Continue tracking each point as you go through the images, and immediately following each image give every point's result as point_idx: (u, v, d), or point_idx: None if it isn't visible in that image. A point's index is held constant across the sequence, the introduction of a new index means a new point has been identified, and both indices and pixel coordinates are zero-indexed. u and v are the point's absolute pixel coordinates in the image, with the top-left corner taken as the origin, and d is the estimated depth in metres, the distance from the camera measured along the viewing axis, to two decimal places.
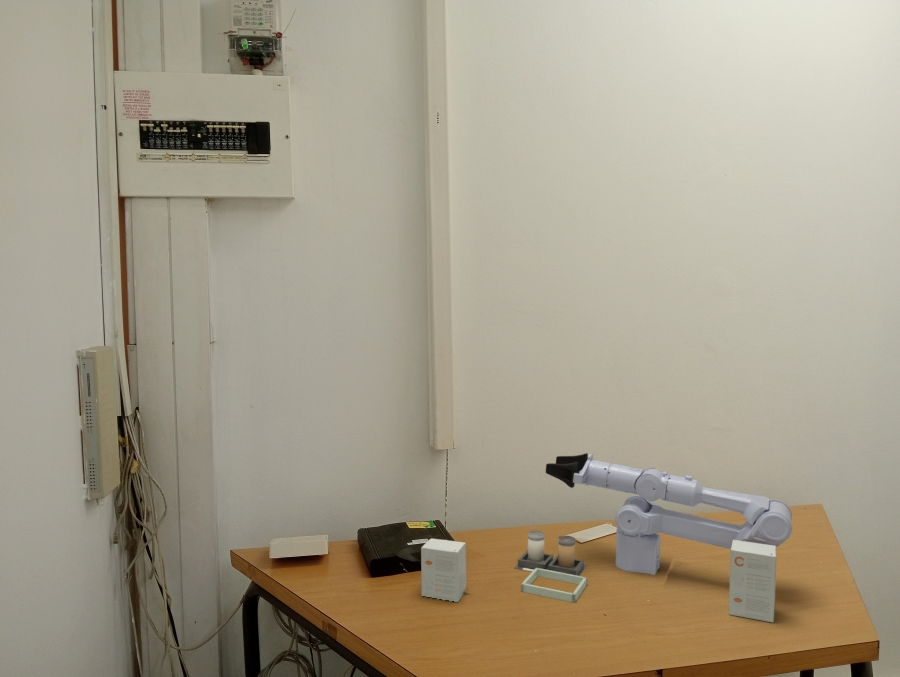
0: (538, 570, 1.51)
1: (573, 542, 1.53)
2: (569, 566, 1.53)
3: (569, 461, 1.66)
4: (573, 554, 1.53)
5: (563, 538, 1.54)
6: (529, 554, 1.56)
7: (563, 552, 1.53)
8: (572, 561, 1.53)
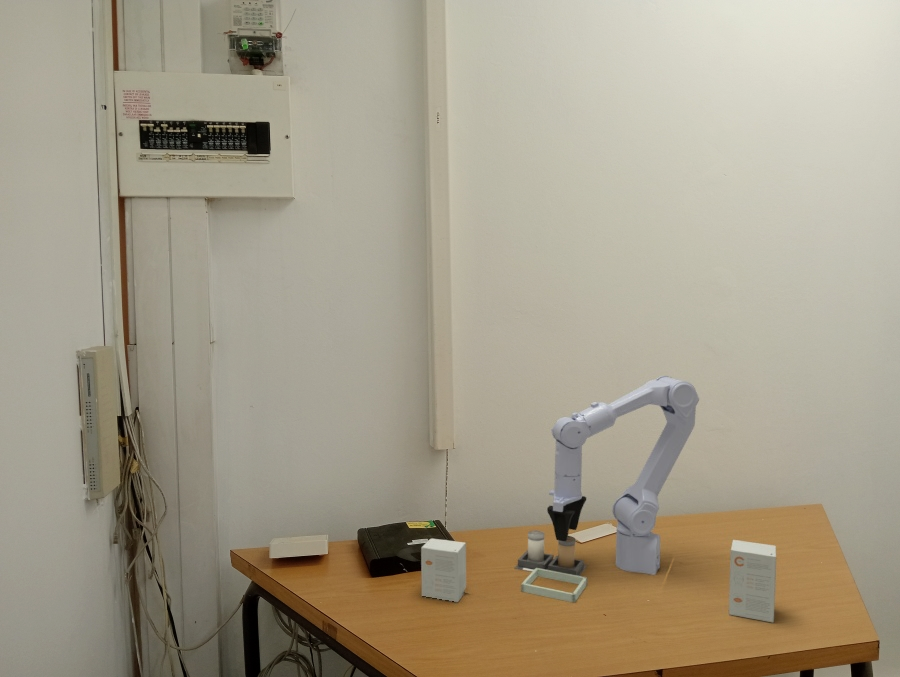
0: (538, 570, 1.51)
1: (573, 542, 1.53)
2: (569, 566, 1.53)
3: None
4: (573, 554, 1.53)
5: None
6: (529, 554, 1.56)
7: (563, 552, 1.53)
8: (572, 561, 1.53)
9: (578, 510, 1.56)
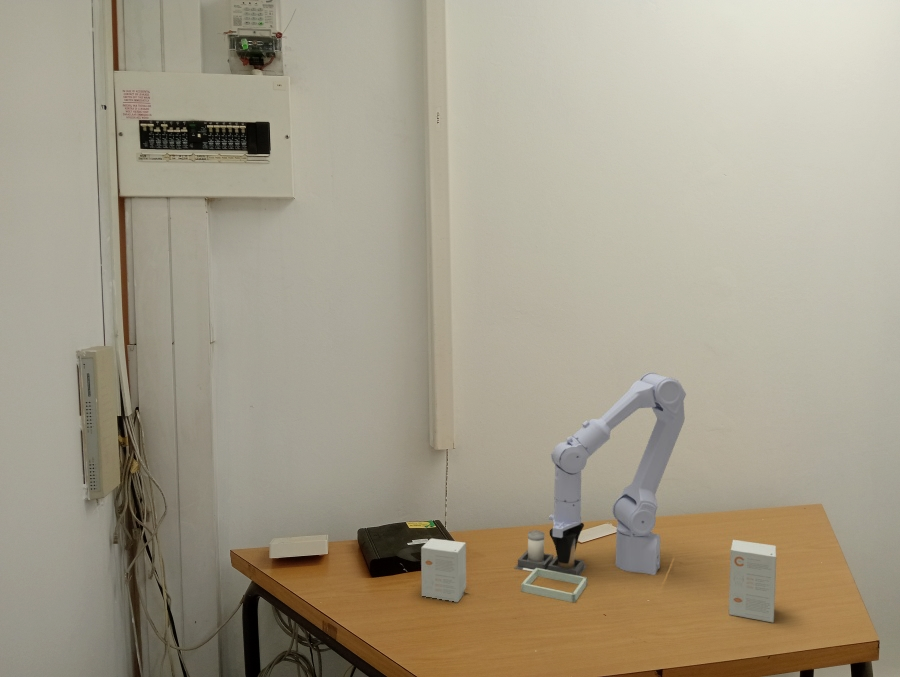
0: (538, 570, 1.51)
1: (573, 542, 1.53)
2: (569, 566, 1.53)
3: None
4: (573, 554, 1.53)
5: None
6: (529, 554, 1.56)
7: None
8: (572, 561, 1.53)
9: (576, 537, 1.55)
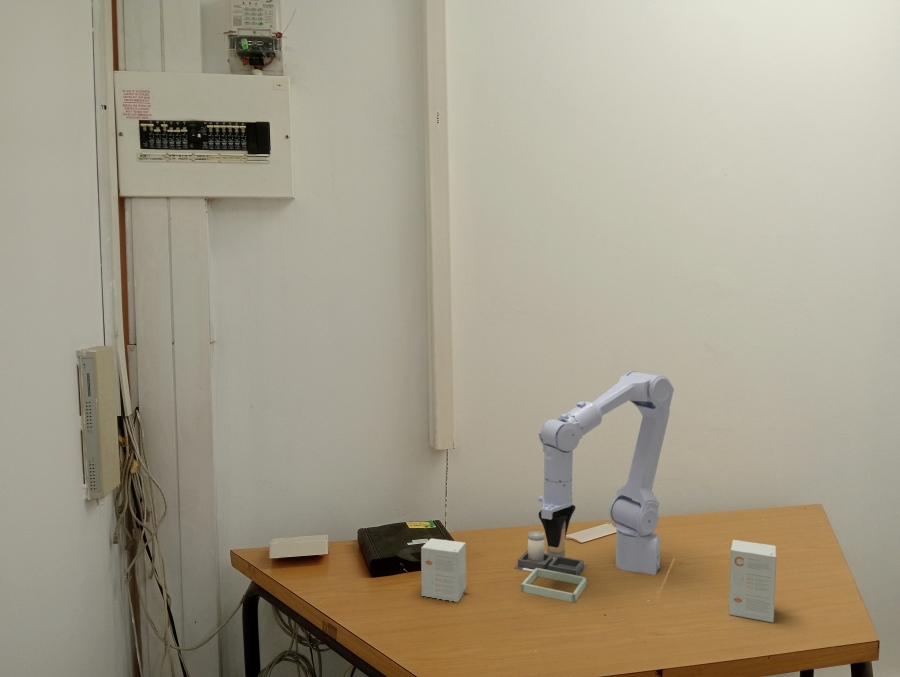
0: (538, 570, 1.51)
1: (563, 525, 1.44)
2: (559, 550, 1.44)
3: None
4: (563, 538, 1.45)
5: None
6: (529, 554, 1.56)
7: None
8: (562, 545, 1.45)
9: (567, 520, 1.47)
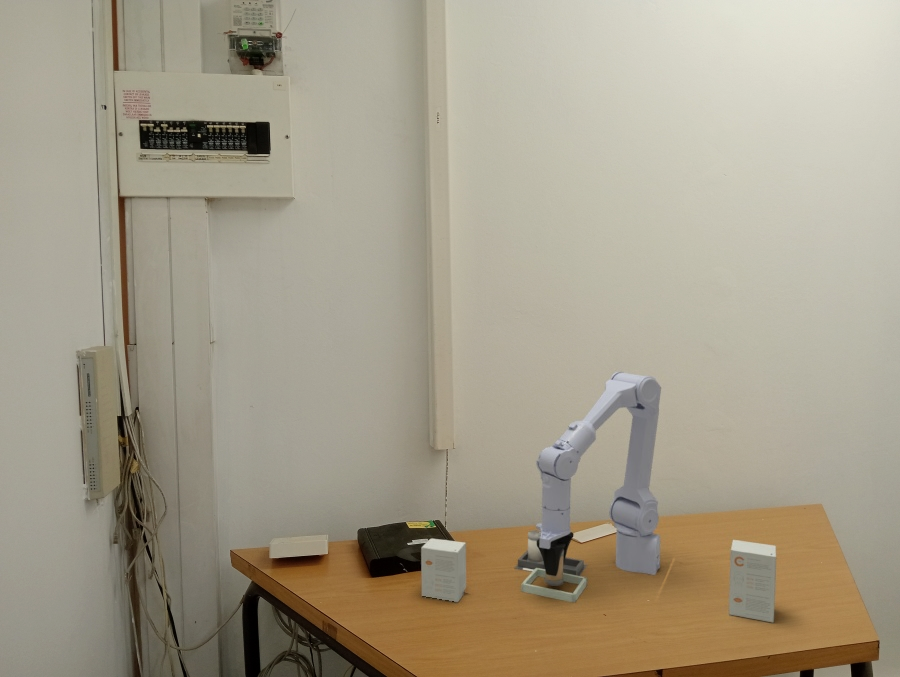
0: (538, 570, 1.51)
1: None
2: (557, 578, 1.43)
3: None
4: (561, 566, 1.44)
5: None
6: (529, 554, 1.56)
7: None
8: (560, 573, 1.44)
9: (565, 547, 1.46)
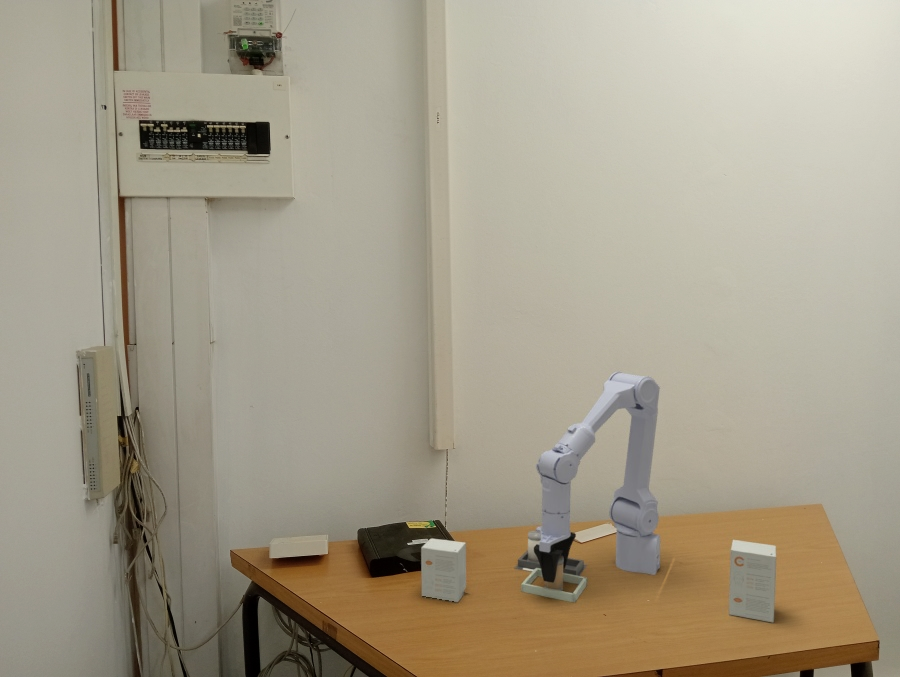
0: (538, 570, 1.51)
1: (561, 561, 1.43)
2: (557, 586, 1.44)
3: None
4: (561, 574, 1.44)
5: None
6: (529, 554, 1.56)
7: None
8: (560, 581, 1.44)
9: (567, 548, 1.47)
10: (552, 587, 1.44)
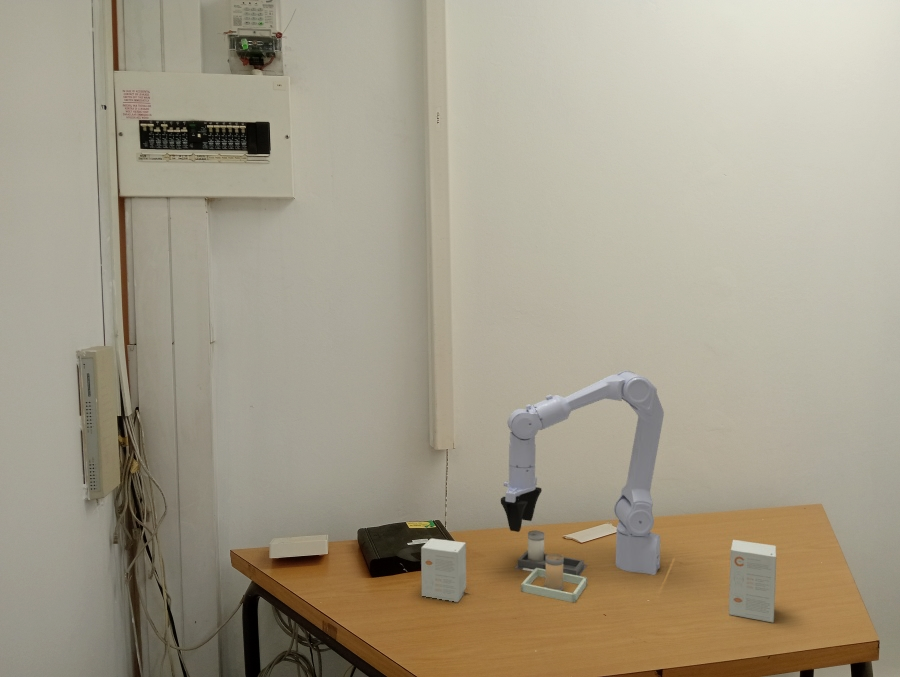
0: (538, 570, 1.51)
1: (561, 562, 1.43)
2: (557, 587, 1.44)
3: None
4: (561, 574, 1.44)
5: (551, 557, 1.45)
6: (529, 554, 1.56)
7: (550, 571, 1.44)
8: (560, 581, 1.44)
9: (533, 501, 1.57)
10: (552, 587, 1.44)
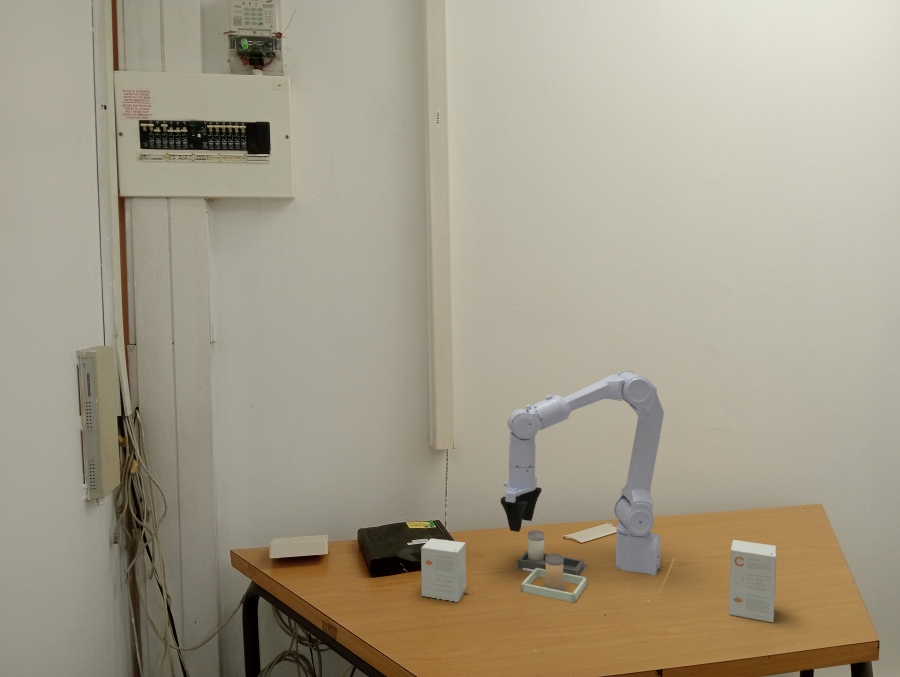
0: (538, 570, 1.51)
1: (561, 562, 1.43)
2: (557, 587, 1.44)
3: None
4: (561, 574, 1.44)
5: (551, 557, 1.45)
6: (529, 554, 1.56)
7: (550, 571, 1.44)
8: (560, 581, 1.44)
9: (533, 501, 1.57)
10: (552, 587, 1.44)
